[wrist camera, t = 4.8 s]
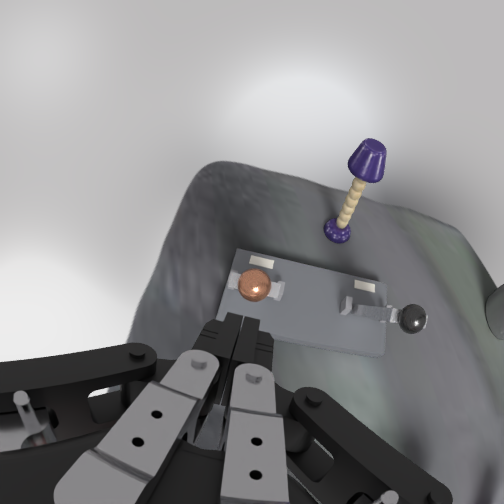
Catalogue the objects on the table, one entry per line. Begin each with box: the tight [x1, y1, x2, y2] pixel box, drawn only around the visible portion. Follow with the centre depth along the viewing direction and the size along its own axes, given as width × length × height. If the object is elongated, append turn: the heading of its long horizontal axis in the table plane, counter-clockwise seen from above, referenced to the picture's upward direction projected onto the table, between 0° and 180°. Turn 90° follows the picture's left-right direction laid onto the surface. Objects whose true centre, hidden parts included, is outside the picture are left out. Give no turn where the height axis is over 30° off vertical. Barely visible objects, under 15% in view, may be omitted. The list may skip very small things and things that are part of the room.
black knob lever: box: [350, 304, 428, 334], centre depth 27 cm, size 3×4×13 cm, turn 77°
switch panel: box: [216, 248, 392, 358], centre depth 34 cm, size 10×21×4 cm, turn 77°
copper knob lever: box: [228, 268, 281, 302], centre depth 27 cm, size 3×4×13 cm, turn 77°
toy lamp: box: [324, 138, 386, 243], centre depth 35 cm, size 5×5×17 cm
